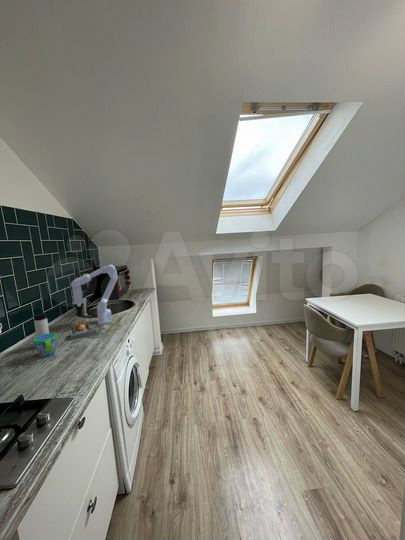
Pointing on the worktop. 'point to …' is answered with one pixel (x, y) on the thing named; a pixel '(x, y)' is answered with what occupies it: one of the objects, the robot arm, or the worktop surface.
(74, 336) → the tray
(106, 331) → the worktop surface
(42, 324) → the travel mug
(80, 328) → the ball
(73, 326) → the rails
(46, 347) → the snack cup
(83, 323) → the brown square block
